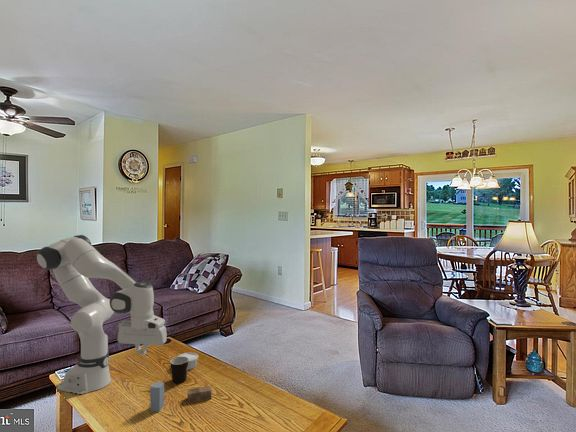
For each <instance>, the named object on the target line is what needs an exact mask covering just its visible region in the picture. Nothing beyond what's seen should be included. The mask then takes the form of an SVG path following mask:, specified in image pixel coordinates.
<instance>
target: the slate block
mask: <svg viewBox="0 0 576 432" xmlns="http://www.w3.org/2000/svg"><path fill="white" fill-rule="evenodd" d="M149 389H150V391H149V392H150V393H149V394H150V395H149V397H150V404H149V407H150V408H149V410H150V412H161V411H162V410H163V408H164V406H165V382H158V381H155V382H154V383H153V384H152V385H151V386H150V388H149Z"/></svg>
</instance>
